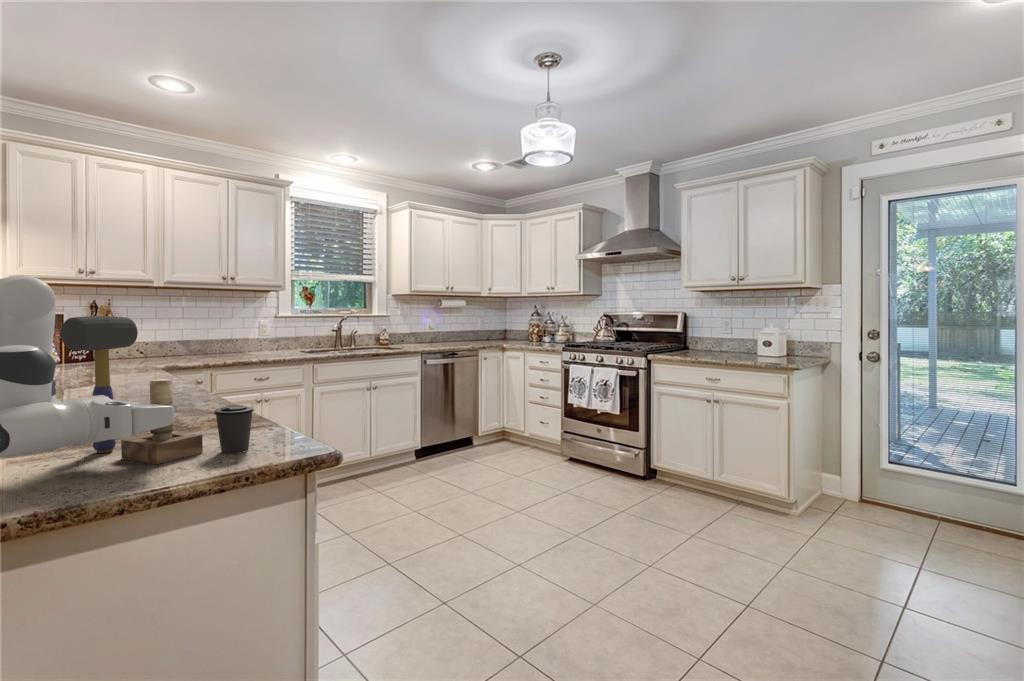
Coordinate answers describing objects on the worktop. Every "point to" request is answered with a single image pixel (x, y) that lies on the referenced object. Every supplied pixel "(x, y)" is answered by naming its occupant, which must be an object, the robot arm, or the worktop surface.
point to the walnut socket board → (161, 447)
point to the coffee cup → (234, 428)
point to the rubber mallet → (99, 350)
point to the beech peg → (161, 396)
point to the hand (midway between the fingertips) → (165, 407)
